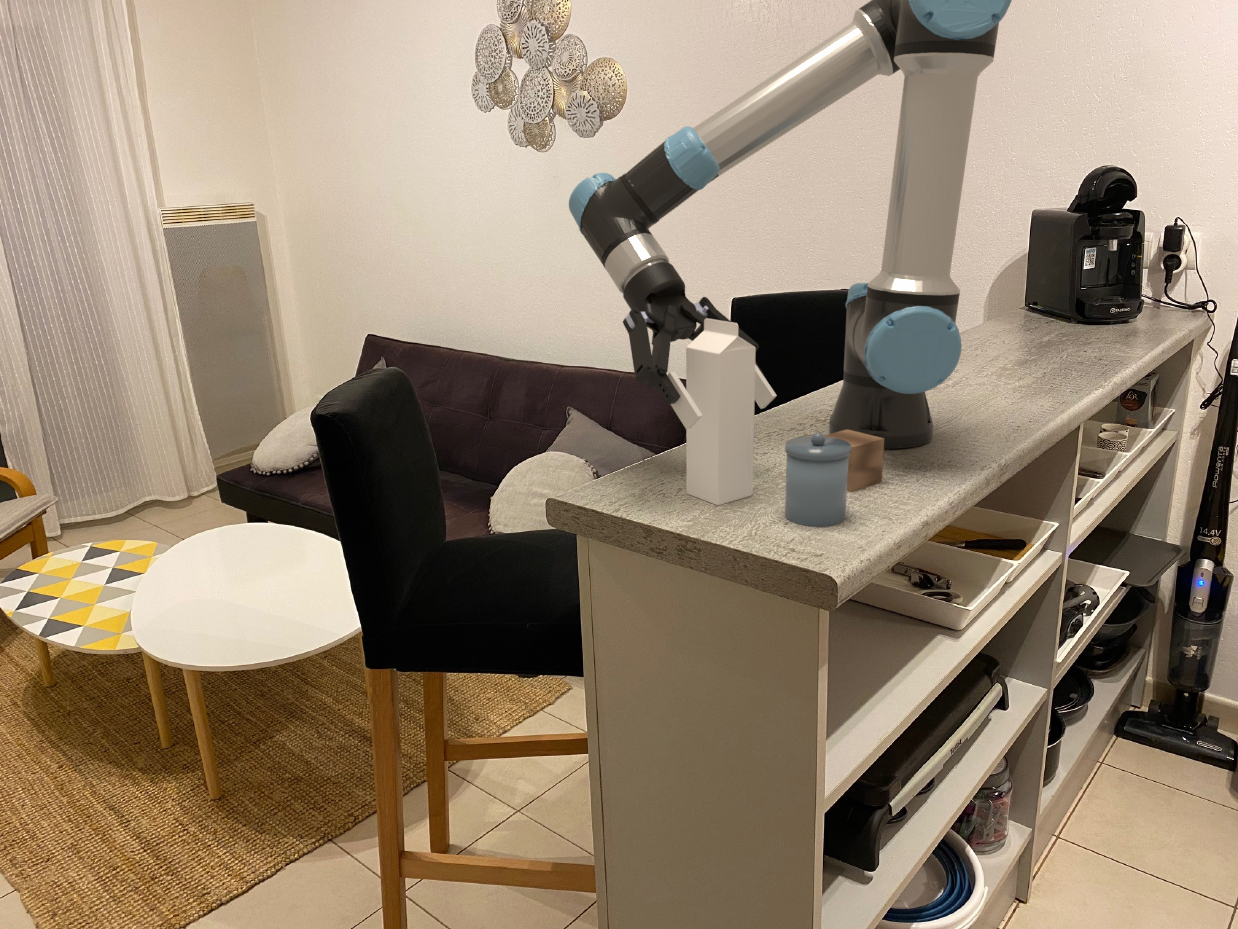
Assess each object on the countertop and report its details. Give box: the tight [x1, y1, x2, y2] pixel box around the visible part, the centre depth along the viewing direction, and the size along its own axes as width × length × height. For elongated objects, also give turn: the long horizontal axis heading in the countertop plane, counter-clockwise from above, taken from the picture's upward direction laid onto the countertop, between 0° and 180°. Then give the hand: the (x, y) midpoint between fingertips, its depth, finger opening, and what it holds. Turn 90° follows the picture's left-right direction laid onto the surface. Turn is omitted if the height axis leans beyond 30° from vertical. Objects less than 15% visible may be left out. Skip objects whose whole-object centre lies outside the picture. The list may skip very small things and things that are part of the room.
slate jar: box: [784, 432, 851, 528], centre depth 111 cm, size 7×7×10 cm
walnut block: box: [823, 429, 885, 493], centre depth 123 cm, size 6×6×6 cm
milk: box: [685, 318, 757, 506], centre depth 117 cm, size 6×6×22 cm
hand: (733, 412), depth 116 cm, fingers open, 13 cm apart
